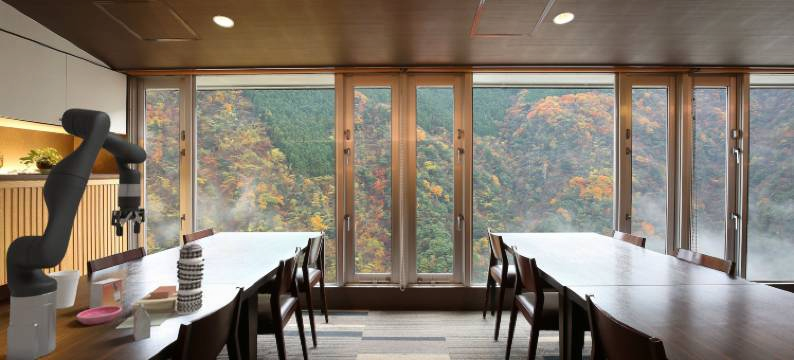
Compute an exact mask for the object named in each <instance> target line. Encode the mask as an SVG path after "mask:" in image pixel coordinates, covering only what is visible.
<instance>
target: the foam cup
mask: <svg viewBox="0 0 794 360" xmlns="http://www.w3.org/2000/svg"><path fill="white" fill-rule="evenodd" d="M46 275H47V276H49V277H51V278H54V279H55V280H56V281H57V306H56V310H59V309H60V310H62V309H66V308H69V307H70V308H71V307H73V306H74V304H75V300H76V294H77V290H78V289H77V288H78V286H79V285H78V284H79V280H80V277H81V270H79V269H70V270H69V269H68V270H60V271H59V270H58V271H53V272H49V273H47V274H46Z"/></svg>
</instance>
